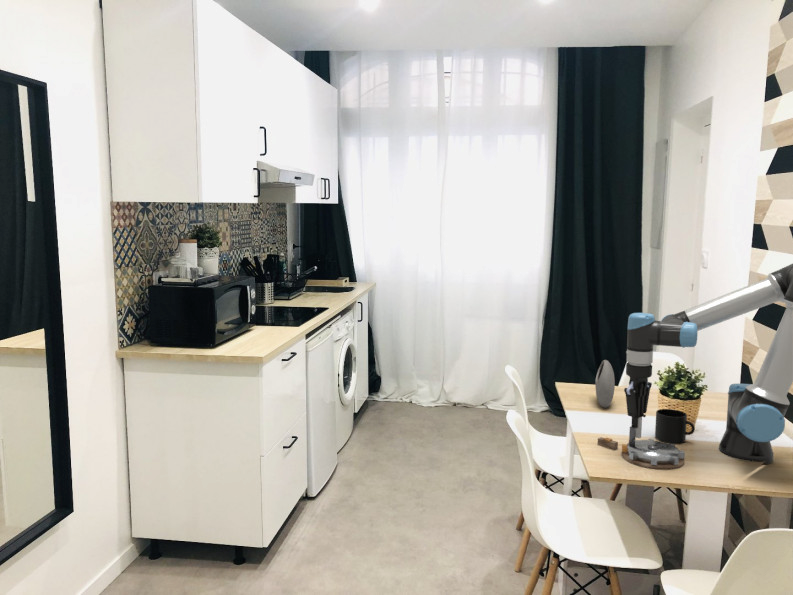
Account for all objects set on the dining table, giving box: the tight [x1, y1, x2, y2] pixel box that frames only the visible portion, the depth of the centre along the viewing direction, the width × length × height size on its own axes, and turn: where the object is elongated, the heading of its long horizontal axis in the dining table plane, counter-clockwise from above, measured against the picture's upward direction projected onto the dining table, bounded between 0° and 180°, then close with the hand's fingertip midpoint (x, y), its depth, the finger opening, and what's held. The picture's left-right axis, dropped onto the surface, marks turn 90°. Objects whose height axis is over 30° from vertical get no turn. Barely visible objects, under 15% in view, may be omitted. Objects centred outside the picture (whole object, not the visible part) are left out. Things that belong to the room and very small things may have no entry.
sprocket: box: [621, 426, 686, 465], centre depth 193 cm, size 18×18×8 cm
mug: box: [654, 408, 696, 444], centre depth 210 cm, size 9×12×9 cm
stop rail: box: [597, 437, 619, 451], centre depth 202 cm, size 6×2×3 cm, turn 41°
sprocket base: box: [620, 451, 685, 471], centre depth 193 cm, size 18×18×1 cm
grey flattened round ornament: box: [595, 359, 616, 409], centre depth 246 cm, size 18×7×19 cm, turn 165°
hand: (636, 436), depth 197 cm, fingers closed
